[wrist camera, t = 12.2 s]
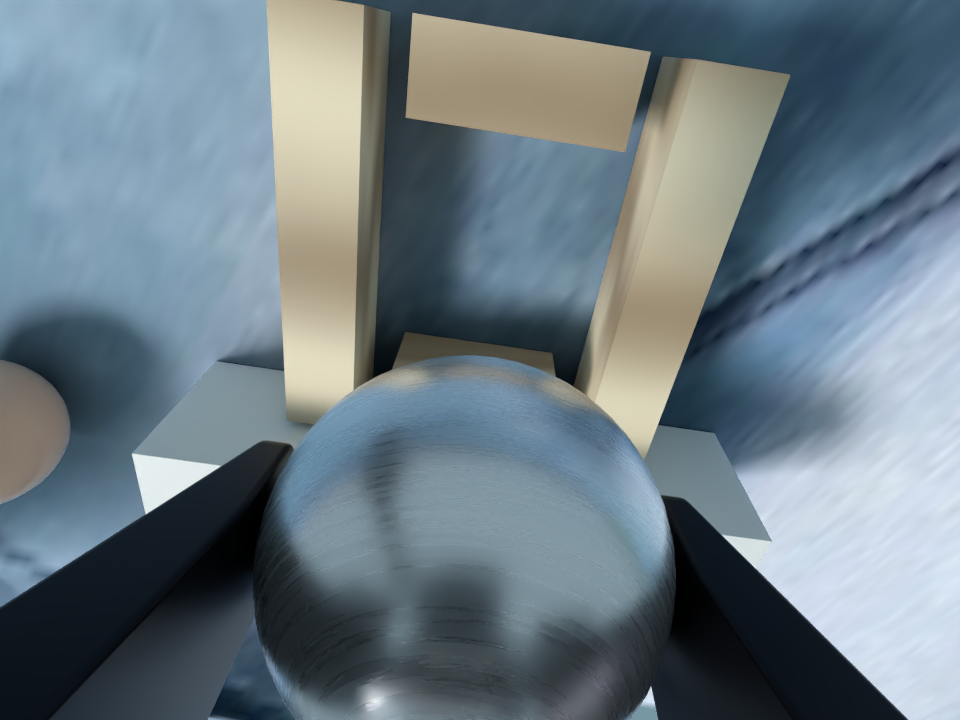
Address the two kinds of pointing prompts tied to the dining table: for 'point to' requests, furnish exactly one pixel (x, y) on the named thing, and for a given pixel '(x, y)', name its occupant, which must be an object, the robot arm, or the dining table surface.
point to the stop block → (262, 416)
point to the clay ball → (29, 429)
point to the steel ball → (464, 554)
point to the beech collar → (512, 110)
